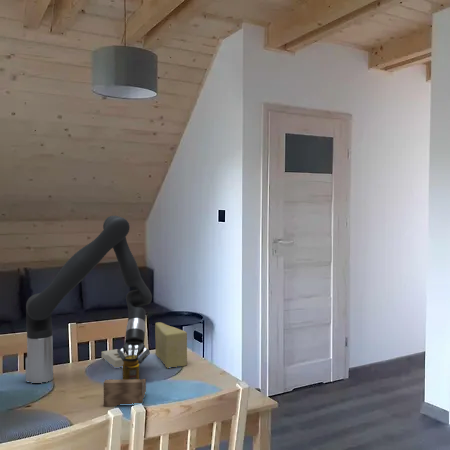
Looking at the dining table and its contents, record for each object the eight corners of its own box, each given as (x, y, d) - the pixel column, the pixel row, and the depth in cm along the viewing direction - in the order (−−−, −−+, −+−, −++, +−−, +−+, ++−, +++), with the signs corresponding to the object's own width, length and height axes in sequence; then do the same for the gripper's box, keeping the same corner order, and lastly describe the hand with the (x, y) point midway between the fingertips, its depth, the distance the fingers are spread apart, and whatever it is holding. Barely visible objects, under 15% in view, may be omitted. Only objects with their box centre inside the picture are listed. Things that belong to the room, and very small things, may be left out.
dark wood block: (103, 406, 172) (103, 382, 172) (109, 394, 183) (109, 372, 182) (142, 405, 173) (142, 382, 172) (145, 394, 183) (145, 372, 183)
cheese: (146, 355, 229) (146, 322, 228) (166, 352, 234) (166, 320, 233) (166, 369, 210) (166, 333, 209) (187, 365, 215) (187, 330, 214)
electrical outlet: (117, 347, 229) (131, 357, 214) (117, 355, 230) (131, 367, 214) (101, 349, 226) (114, 360, 210) (101, 358, 226) (114, 370, 210)
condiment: (141, 385, 191) (141, 354, 191) (139, 394, 183) (138, 361, 182) (121, 386, 191) (121, 354, 190) (118, 394, 183) (118, 361, 182)
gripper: (117, 327, 200) (112, 368, 188) (151, 327, 200) (148, 368, 189) (119, 337, 205) (114, 378, 194) (152, 337, 206) (150, 377, 194)
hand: (131, 373), depth 191 cm, fingers closed
